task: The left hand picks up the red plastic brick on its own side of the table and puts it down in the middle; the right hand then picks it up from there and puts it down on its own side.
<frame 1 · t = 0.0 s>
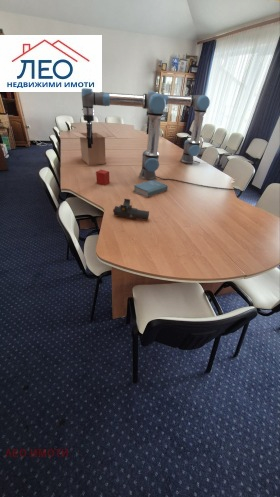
left hand: (90, 146, 173), 28 cm above the table, tool pointing down, fingers open, 13 cm apart
right hand: (148, 135, 225), 28 cm above the table, tool pointing down, fingers open, 13 cm apart
book: (150, 191, 179), on the table
laser sight: (130, 217, 141), on the table
box: (93, 161, 237), on the table
brick: (103, 183, 187), on the table
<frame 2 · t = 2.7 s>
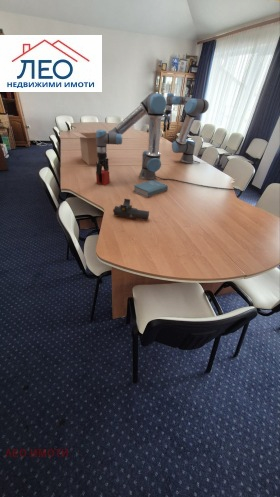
left hand: (103, 180, 186), 2 cm above the table, tool pointing down, fingers closed on brick, 7 cm apart
right hand: (166, 130, 262), 27 cm above the table, tool pointing down, fingers open, 13 cm apart
brick: (103, 183, 187), on the table, touching left hand
everything else where it was.
when the left hand's fingers open (3 cm above the table, at t = 12.1 s): brick drops 2 cm, on the table.
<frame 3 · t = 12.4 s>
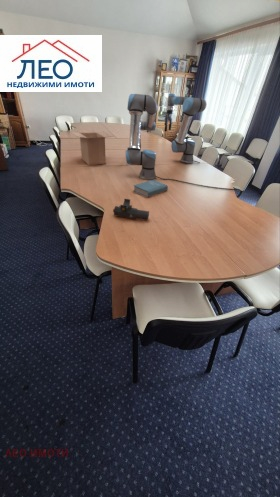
left hand: (136, 156, 248), 4 cm above the table, tool pointing down, fingers open, 10 cm apart
right hand: (167, 130, 265), 27 cm above the table, tool pointing down, fingers open, 13 cm apart
brick: (135, 160, 251), on the table
everything else where it was.
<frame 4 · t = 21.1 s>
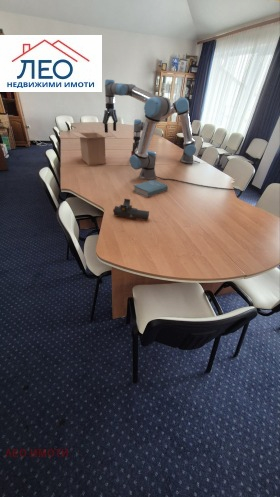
left hand: (110, 131, 195), 34 cm above the table, tool pointing down, fingers open, 13 cm apart
right hand: (135, 158, 250), 2 cm above the table, tool pointing down, fingers closed on brick, 7 cm apart
brick: (135, 160, 251), on the table, touching right hand
everything else where it was.
when the right hand's fingers open (3 cm above the table, at t = 24.9 s): brick drops 2 cm, on the table.
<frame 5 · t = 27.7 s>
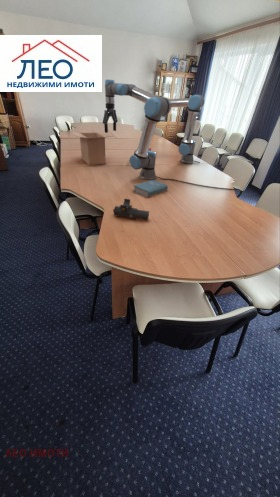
left hand: (110, 131, 195), 34 cm above the table, tool pointing down, fingers open, 13 cm apart
right hand: (147, 135, 251), 23 cm above the table, tool pointing down, fingers open, 13 cm apart
brick: (146, 156, 265), on the table
everything else where it was.
at the end: brick inside the target area (0.0 cm from its centre), on the table; brick tilted 0°; the two hands never held the brick at the same time; the left hand is holding nothing; the right hand is holding nothing; brick at rest at the end (0.0 cm/s) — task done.
